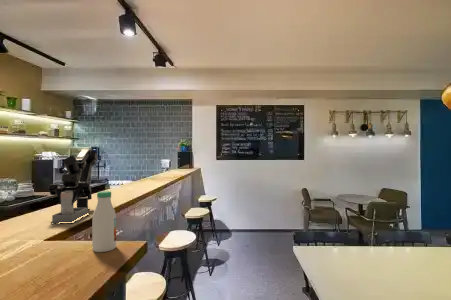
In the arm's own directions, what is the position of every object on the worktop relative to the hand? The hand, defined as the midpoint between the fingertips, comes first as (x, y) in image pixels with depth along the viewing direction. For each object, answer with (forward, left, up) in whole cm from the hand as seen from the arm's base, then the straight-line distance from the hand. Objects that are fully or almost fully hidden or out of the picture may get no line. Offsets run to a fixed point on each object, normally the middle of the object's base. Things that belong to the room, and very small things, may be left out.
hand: (66, 203), depth 137 cm
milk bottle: (+38, +33, -9) cm, 51 cm away
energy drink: (-1, 0, -7) cm, 7 cm away
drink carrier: (-5, 0, -9) cm, 10 cm away
